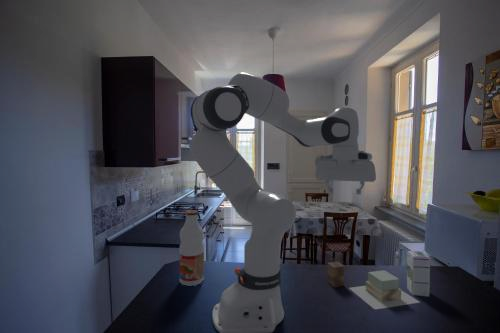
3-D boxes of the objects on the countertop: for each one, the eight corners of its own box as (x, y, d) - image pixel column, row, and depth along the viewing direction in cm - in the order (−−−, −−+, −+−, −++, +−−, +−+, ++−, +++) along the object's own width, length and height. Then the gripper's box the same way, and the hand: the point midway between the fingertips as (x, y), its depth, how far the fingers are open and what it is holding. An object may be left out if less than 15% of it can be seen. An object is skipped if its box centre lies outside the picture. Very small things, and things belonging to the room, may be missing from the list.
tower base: (381, 302, 89) (381, 292, 88) (365, 290, 96) (365, 281, 96) (401, 299, 90) (401, 289, 90) (384, 287, 98) (384, 278, 98)
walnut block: (333, 288, 99) (333, 267, 98) (327, 282, 103) (327, 262, 103) (344, 286, 100) (344, 266, 99) (337, 281, 104) (337, 261, 104)
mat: (374, 310, 84) (374, 309, 84) (348, 288, 98) (348, 287, 98) (420, 303, 89) (420, 302, 89) (389, 283, 102) (389, 282, 102)
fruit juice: (207, 283, 101) (207, 212, 100) (183, 290, 97) (182, 215, 95) (199, 274, 110) (199, 207, 108) (176, 279, 105) (176, 210, 104)
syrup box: (430, 297, 92) (431, 257, 92) (411, 295, 94) (412, 255, 93) (422, 289, 98) (424, 251, 97) (405, 287, 99) (406, 250, 98)
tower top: (381, 291, 89) (382, 281, 89) (367, 281, 96) (368, 272, 96) (398, 288, 91) (399, 279, 90) (384, 279, 97) (384, 270, 97)
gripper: (313, 154, 94) (313, 193, 95) (376, 154, 86) (375, 196, 87) (316, 154, 100) (316, 190, 101) (375, 154, 92) (375, 193, 93)
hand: (344, 193), depth 94 cm, fingers open, 8 cm apart
